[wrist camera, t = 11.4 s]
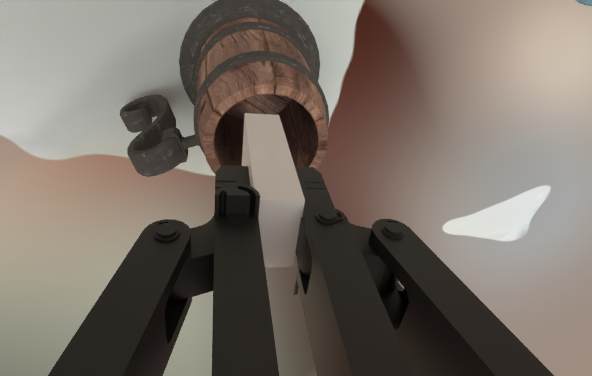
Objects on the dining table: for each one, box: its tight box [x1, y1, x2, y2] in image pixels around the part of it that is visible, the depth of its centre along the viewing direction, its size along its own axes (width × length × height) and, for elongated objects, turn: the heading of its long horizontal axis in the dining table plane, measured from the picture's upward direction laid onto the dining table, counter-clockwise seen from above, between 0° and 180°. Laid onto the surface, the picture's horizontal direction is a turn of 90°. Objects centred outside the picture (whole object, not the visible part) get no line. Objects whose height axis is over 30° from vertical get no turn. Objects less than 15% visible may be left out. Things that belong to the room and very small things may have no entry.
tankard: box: [120, 0, 329, 177], centre depth 40 cm, size 24×17×20 cm
